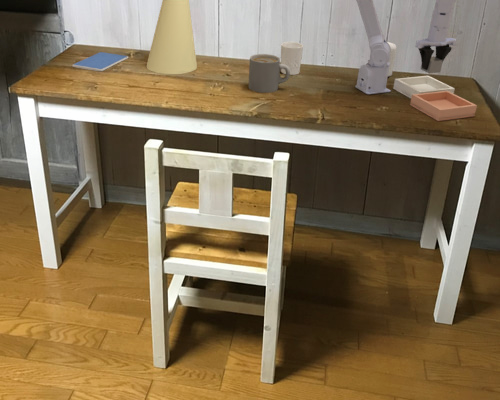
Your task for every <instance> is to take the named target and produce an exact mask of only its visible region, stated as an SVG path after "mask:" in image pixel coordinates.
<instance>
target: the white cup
mask: <svg viewBox="0 0 500 400" xmlns="http://www.w3.org/2000/svg"><path fill="white" fill-rule="evenodd" d="M303 51H304V44H302V43H300V42H295V41H284V42H282V43H281V44H280V64H284V65H287V66H288V67H289V69H290V76H295V75H299V73H300V71H301V66H302V65H301V63H302V57H303ZM280 72H281V73H282V74H284V75H286V71H285V69H281V70H280ZM281 73H280V74H281Z"/></svg>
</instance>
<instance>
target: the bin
mask: <svg viewBox="0 0 500 400" xmlns="http://www.w3.org/2000/svg"><path fill="white" fill-rule="evenodd" d="M409 105H410V106H411V107H413V108H414V109H416V110H418V111H420V112H421V113H424V114H425V115H427V116H429V117H431V118H432V119H434V120H435V121H437V122H441V121H448V120H456V119H457V120H458V119H462V118H463V119H464V118H470V117H475V116H476V115H475V114H476V111H477V108H478V105H477V104H475V103H474V102H471V101H469V100H467V99H465V98H463V97H461V96H458V95H457V94H456V93H454V94H453V93H451V92H449V91H439V92H430V93H421V94H413V95H412V97H411V98H410V103H409Z"/></svg>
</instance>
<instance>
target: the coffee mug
mask: <svg viewBox="0 0 500 400" xmlns="http://www.w3.org/2000/svg"><path fill="white" fill-rule="evenodd" d="M281 69H285V71H286V74H285V76H284V77H281V75H280V74H281V73H280V72H281ZM248 72H249V73H248V89H249V90H250V91H252V92H255V93H262V94H264V93H267V94H268V93H273V92H277V91H278V90H279V85H280V84H282V83H285V82H288V80H289V78H290V76H291V75H290V69H289V67H288V66H287V65H284V64H281V57H278V56H277V55H274V54H269V53H268V54H265V53H257V54H253V55H251V56H250V57H249V67H248Z"/></svg>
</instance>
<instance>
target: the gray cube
mask: <svg viewBox="0 0 500 400" xmlns="http://www.w3.org/2000/svg"><path fill="white" fill-rule="evenodd" d="M442 62H444V61H443V60H441V59H439V58H436V56H433V55H432V57H431V59H430V63H429V67H428V69H427V70H425V69H423V68H422V63H421V64H420V65H421V66H420V70H421V71H423V72H425V73H428V74H437V73H438V74H439V73H441V69H442V66H443V63H442Z"/></svg>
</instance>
